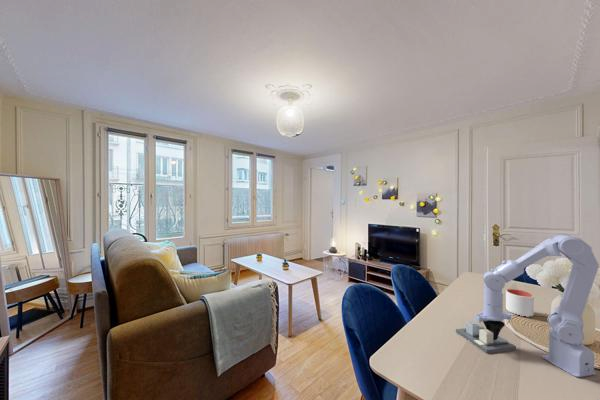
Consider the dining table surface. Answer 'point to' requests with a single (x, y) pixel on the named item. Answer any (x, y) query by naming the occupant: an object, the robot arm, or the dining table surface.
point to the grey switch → (472, 328)
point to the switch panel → (487, 348)
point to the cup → (520, 302)
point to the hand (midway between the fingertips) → (492, 338)
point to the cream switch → (486, 336)
